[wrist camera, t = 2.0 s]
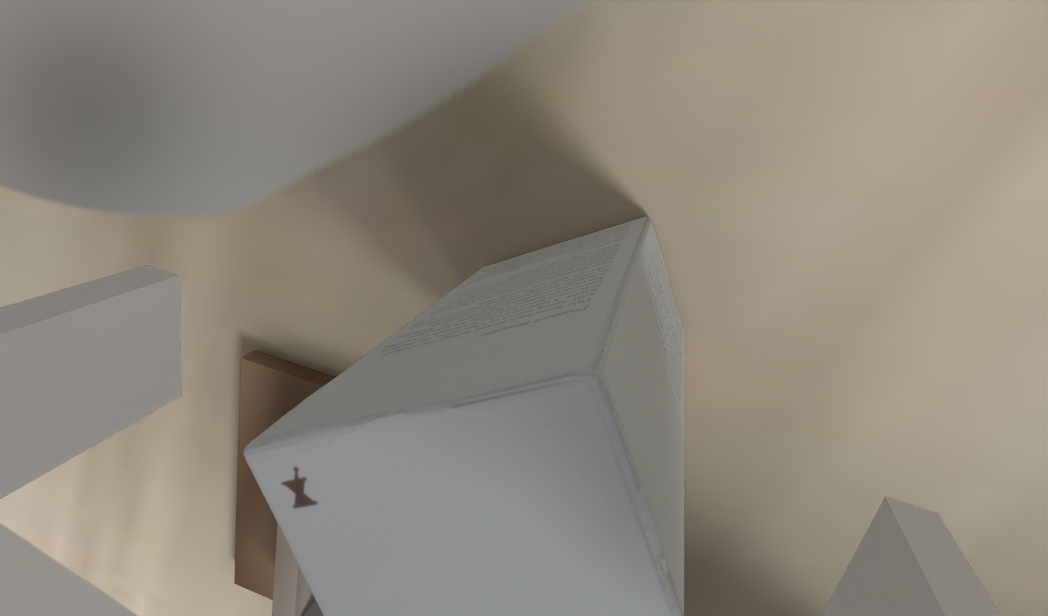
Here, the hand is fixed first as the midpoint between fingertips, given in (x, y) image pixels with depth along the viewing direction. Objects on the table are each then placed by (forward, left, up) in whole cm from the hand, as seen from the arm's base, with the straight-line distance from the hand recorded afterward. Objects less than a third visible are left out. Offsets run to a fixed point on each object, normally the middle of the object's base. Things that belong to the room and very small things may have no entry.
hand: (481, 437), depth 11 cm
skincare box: (0, 0, -10) cm, 10 cm away
